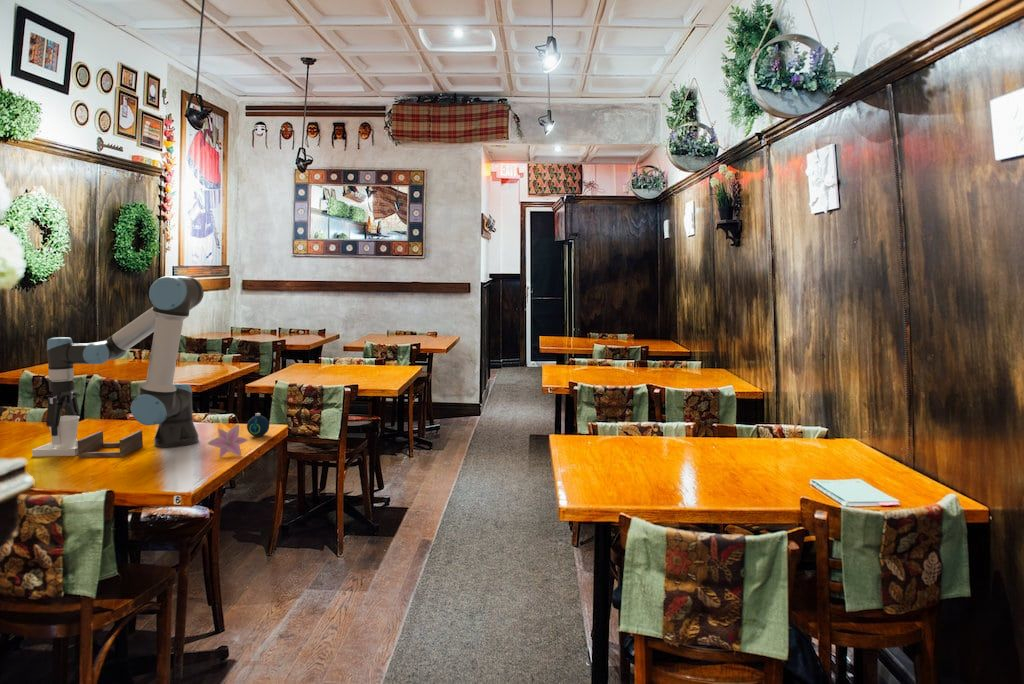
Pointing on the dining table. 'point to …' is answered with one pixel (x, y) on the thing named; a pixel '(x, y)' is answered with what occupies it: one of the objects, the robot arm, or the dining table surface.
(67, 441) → the cup
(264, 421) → the christmas ornament
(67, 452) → the tray
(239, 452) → the lily
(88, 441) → the cup holder
